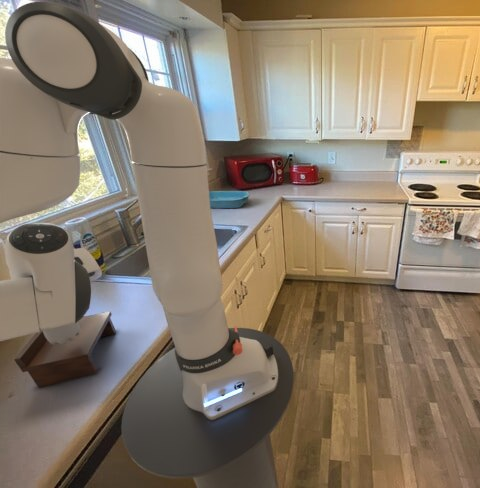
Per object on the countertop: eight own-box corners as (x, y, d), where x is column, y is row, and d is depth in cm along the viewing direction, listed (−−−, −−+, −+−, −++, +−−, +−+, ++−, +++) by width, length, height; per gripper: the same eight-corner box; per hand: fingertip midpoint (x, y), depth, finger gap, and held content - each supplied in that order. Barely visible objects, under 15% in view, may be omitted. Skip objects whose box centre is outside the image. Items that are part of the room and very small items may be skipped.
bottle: (42, 344, 68) (0, 273, 59) (72, 326, 74) (38, 259, 65) (60, 351, 66) (20, 279, 57) (90, 331, 72) (57, 263, 63)
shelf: (118, 329, 86) (107, 303, 81) (97, 374, 71) (82, 345, 67) (67, 340, 82) (52, 312, 78) (34, 389, 68) (13, 359, 63)
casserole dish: (192, 209, 189) (189, 199, 186) (207, 199, 209) (205, 190, 206) (244, 210, 186) (243, 199, 183) (255, 200, 206) (253, 190, 203)
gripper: (-24, 317, 48) (-11, 338, 57) (108, 266, 64) (102, 289, 73) (-45, 288, 48) (-29, 314, 57) (92, 244, 64) (88, 270, 73)
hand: (46, 300), depth 65 cm, fingers closed on bottle, 6 cm apart
